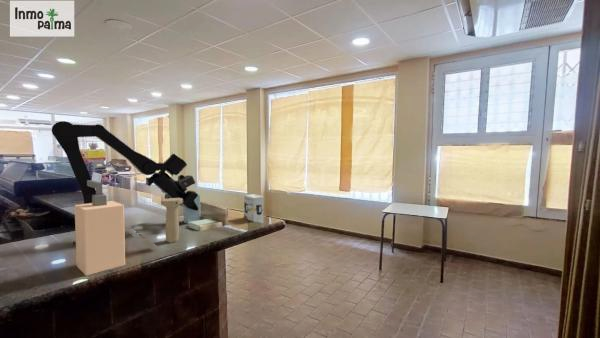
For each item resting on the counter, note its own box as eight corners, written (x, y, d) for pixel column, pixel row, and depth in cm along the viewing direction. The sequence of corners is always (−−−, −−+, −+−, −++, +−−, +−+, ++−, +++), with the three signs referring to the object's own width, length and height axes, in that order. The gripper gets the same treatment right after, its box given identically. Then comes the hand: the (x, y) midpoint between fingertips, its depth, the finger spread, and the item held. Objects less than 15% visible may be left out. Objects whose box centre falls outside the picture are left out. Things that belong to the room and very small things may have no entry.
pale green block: (197, 230, 102) (197, 225, 101) (189, 227, 105) (189, 222, 105) (216, 226, 108) (216, 221, 108) (208, 223, 112) (208, 218, 111)
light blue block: (188, 227, 110) (187, 196, 109) (183, 225, 113) (183, 195, 112) (199, 225, 114) (199, 195, 113) (195, 223, 117) (195, 194, 116)
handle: (158, 246, 88) (158, 199, 87) (177, 241, 93) (176, 197, 92) (167, 249, 85) (166, 201, 84) (185, 244, 91) (185, 199, 90)
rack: (200, 234, 101) (200, 213, 101) (176, 223, 115) (176, 204, 115) (228, 228, 110) (228, 208, 109) (202, 219, 124) (202, 201, 123)
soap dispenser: (125, 265, 74) (123, 183, 72) (85, 275, 67) (83, 185, 66) (109, 253, 82) (107, 179, 80) (72, 261, 75) (69, 181, 74)
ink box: (243, 221, 122) (243, 194, 121) (252, 219, 125) (252, 193, 124) (253, 225, 115) (254, 197, 115) (263, 223, 119) (263, 196, 118)
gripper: (192, 170, 103) (219, 196, 111) (172, 167, 115) (197, 191, 124) (171, 193, 97) (201, 219, 106) (152, 187, 110) (180, 211, 119)
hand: (195, 209), depth 114 cm, fingers closed on light blue block, 4 cm apart
